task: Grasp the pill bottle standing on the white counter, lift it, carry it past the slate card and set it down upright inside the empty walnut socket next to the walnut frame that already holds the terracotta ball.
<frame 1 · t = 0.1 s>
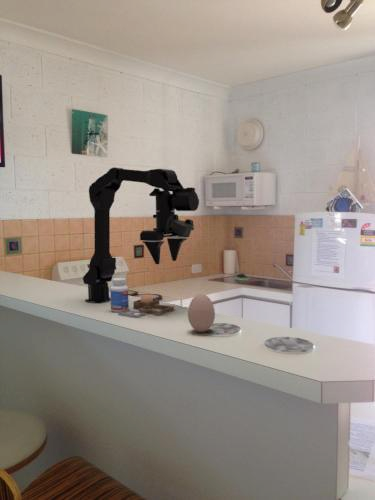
hand: (166, 262, 141), 15 cm above the table, fingers open, 9 cm apart
walnut frame: (146, 307, 145), on the table
egg: (201, 332, 117), on the table
terracotta ball: (146, 301, 145), in the walnut frame
pill bottle: (119, 311, 142), on the table
walnut socket: (156, 311, 140), on the table
slate card: (132, 314, 136), on the table
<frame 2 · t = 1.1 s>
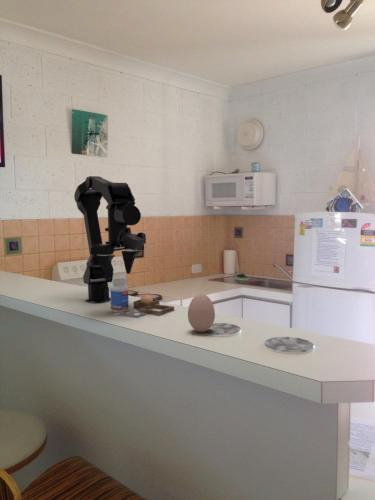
hand: (118, 275, 141), 11 cm above the table, fingers open, 9 cm apart
nothing on the table moved.
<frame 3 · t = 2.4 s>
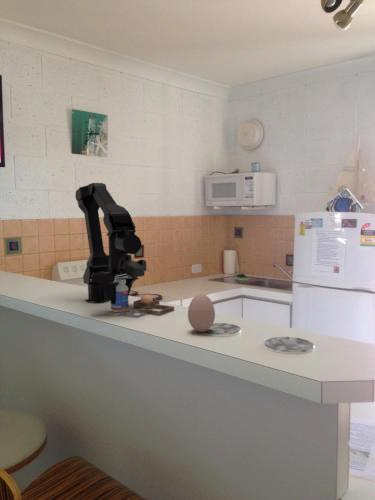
hand: (119, 302, 142), 3 cm above the table, fingers closed on pill bottle, 5 cm apart
pill bottle: (119, 311, 142), on the table, touching gripper
everything else where it was.
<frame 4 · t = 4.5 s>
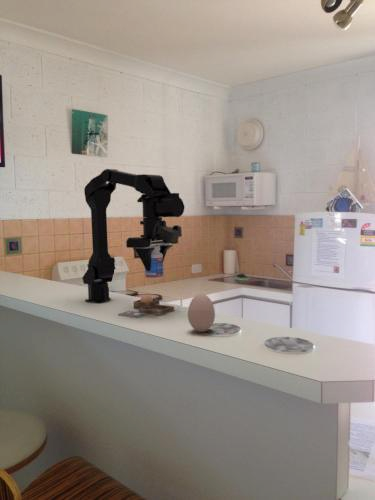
hand: (154, 269, 138), 13 cm above the table, fingers closed on pill bottle, 5 cm apart
pill bottle: (154, 278, 139), point 10 cm above the table, touching gripper
everything else where it was.
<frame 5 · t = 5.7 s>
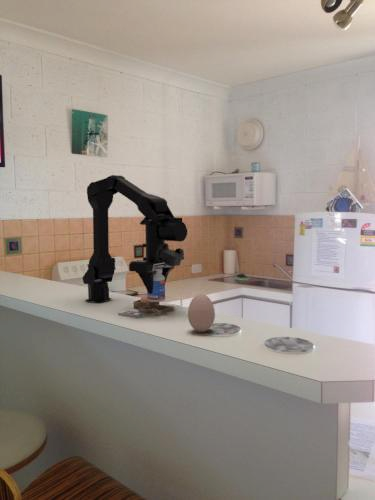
hand: (155, 291, 139), 6 cm above the table, fingers closed on pill bottle, 5 cm apart
pill bottle: (156, 300, 140), point 3 cm above the table, touching gripper
everything else where it was.
when the fingers open (3 cm above the table, at t = 6.7 s): pill bottle stays where it is, resting in walnut socket.
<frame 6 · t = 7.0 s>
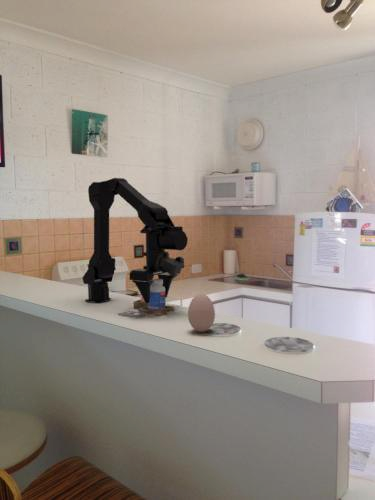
hand: (156, 300, 139), 3 cm above the table, fingers open, 9 cm apart
pill bottle: (156, 312, 140), resting in walnut socket
everything else where it was.
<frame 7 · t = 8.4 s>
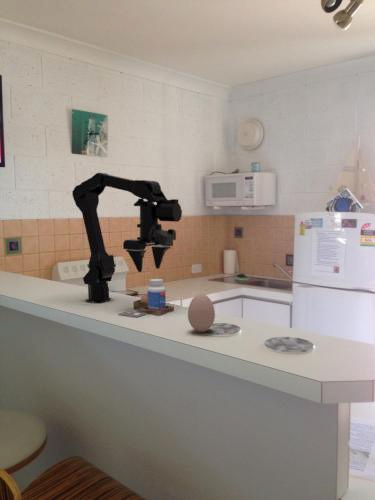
hand: (149, 270, 147), 12 cm above the table, fingers open, 9 cm apart
nothing on the table moved.
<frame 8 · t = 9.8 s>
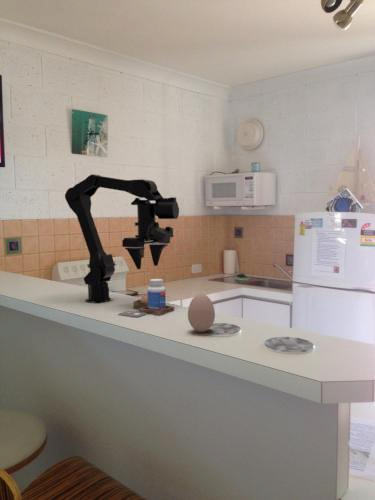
hand: (147, 267, 150), 12 cm above the table, fingers open, 9 cm apart
nothing on the table moved.
at the end: pill bottle 0.1 cm off-centre on the walnut socket, point 0.0 cm above the walnut socket's base; pill bottle tilted 0°; the gripper is holding nothing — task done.
